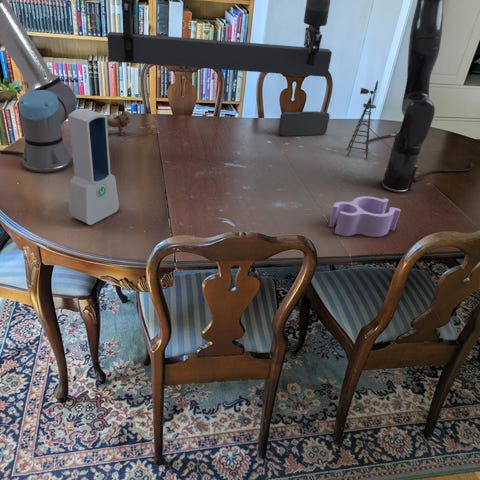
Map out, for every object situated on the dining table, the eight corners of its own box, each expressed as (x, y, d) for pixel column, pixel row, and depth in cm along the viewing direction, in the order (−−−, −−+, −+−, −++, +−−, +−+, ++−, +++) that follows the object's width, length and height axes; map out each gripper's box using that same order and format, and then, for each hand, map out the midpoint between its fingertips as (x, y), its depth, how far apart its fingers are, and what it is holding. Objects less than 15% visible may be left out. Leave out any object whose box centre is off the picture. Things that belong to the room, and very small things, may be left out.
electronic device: (87, 227, 129) (77, 121, 112) (68, 218, 132) (56, 113, 115) (120, 210, 138) (114, 110, 122) (101, 202, 141) (94, 103, 125)
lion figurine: (130, 130, 193) (129, 109, 188) (132, 135, 188) (131, 113, 184) (93, 131, 188) (91, 109, 183) (94, 136, 184) (93, 114, 179)
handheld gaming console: (323, 132, 212) (327, 111, 207) (326, 134, 210) (330, 113, 205) (277, 134, 205) (280, 111, 200) (279, 136, 203) (282, 113, 198)
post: (108, 61, 151) (107, 34, 146) (111, 57, 155) (109, 31, 150) (327, 76, 160) (331, 52, 155) (323, 73, 164) (328, 48, 160)
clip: (342, 240, 135) (347, 220, 131) (322, 219, 145) (326, 199, 141) (399, 234, 141) (406, 214, 137) (377, 213, 151) (382, 194, 147)
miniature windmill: (367, 159, 190) (386, 84, 173) (346, 156, 191) (363, 81, 174) (366, 151, 197) (385, 79, 181) (346, 148, 198) (363, 76, 182)
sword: (403, 131, 224) (404, 129, 223) (408, 133, 222) (409, 131, 221) (360, 143, 208) (360, 140, 207) (365, 145, 206) (366, 142, 205)
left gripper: (137, -19, 133) (138, 66, 146) (144, -23, 149) (145, 53, 161) (110, -21, 133) (114, 64, 145) (120, -26, 148) (123, 51, 160)
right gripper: (334, 12, 144) (324, 69, 154) (323, 6, 156) (314, 59, 166) (310, 10, 144) (302, 67, 153) (301, 4, 155) (293, 57, 165)
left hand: (130, 58), depth 153 cm, fingers closed on post, 5 cm apart
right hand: (308, 63), depth 159 cm, fingers closed on post, 5 cm apart
